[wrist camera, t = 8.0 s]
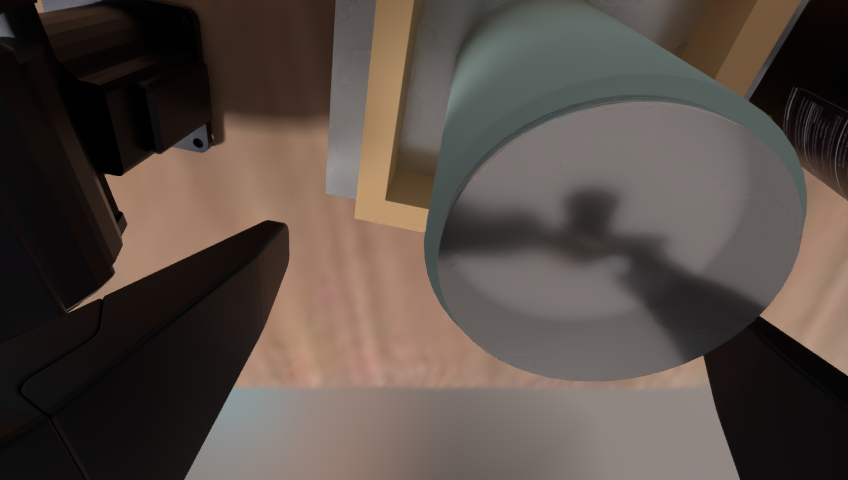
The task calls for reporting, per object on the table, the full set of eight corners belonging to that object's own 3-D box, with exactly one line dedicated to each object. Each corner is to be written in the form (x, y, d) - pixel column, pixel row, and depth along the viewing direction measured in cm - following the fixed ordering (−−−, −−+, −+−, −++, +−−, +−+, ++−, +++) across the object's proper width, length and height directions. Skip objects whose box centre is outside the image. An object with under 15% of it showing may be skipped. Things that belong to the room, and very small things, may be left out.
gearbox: (348, 154, 22) (306, 225, 16) (377, -197, 14) (319, -273, 9) (625, 211, 22) (672, 300, 17) (790, -106, 15) (967, -128, 9)
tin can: (439, 140, 17) (397, 356, 8) (474, -29, 13) (466, 37, 5) (582, 169, 17) (688, 414, 8) (650, 9, 14) (940, 137, 5)
